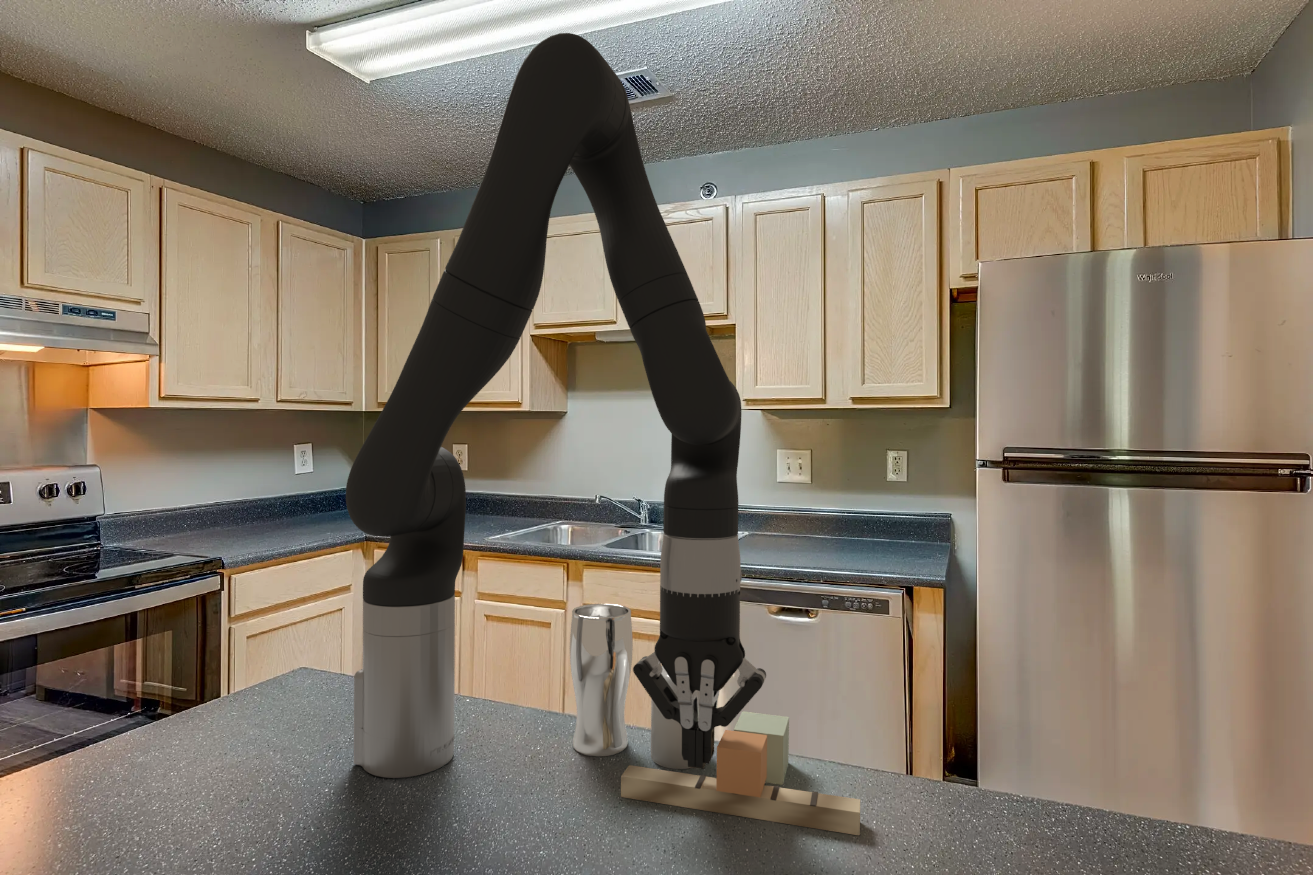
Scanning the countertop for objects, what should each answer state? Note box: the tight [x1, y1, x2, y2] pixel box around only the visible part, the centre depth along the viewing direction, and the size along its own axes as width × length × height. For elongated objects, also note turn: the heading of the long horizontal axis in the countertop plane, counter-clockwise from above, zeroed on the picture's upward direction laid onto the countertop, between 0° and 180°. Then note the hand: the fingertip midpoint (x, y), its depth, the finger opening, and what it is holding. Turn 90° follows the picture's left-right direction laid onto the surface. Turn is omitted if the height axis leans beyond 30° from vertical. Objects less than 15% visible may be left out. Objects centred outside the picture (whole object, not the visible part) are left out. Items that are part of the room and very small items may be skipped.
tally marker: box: [716, 729, 767, 797], centre depth 68 cm, size 4×4×4 cm
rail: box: [620, 764, 861, 836], centre depth 69 cm, size 22×2×2 cm, turn 73°
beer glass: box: [569, 603, 634, 758], centre depth 82 cm, size 7×7×15 cm
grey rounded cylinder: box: [650, 665, 700, 770], centre depth 79 cm, size 6×6×9 cm
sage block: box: [733, 710, 790, 786], centre depth 76 cm, size 5×5×5 cm
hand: (698, 764), depth 70 cm, fingers closed
